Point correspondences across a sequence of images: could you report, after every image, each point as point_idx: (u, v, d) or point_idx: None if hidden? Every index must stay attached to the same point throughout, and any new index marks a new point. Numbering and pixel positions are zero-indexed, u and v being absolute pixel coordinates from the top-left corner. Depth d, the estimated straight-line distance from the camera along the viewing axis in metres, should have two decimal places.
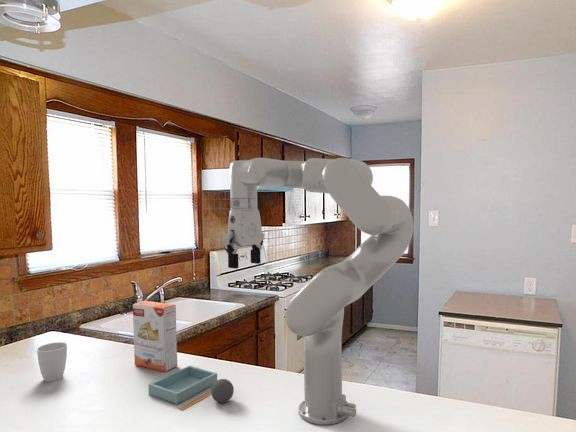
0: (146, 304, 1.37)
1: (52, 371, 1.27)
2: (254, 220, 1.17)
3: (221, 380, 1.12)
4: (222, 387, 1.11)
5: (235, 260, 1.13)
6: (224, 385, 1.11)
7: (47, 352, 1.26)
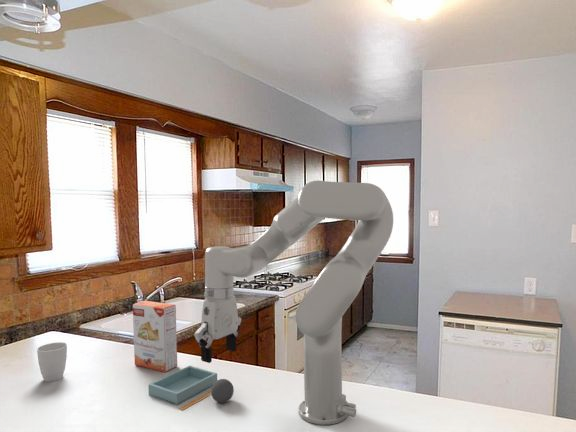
0: (146, 304, 1.37)
1: (52, 371, 1.27)
2: (229, 309, 1.11)
3: (221, 380, 1.12)
4: (222, 387, 1.11)
5: (208, 354, 1.08)
6: (224, 385, 1.11)
7: (47, 352, 1.26)
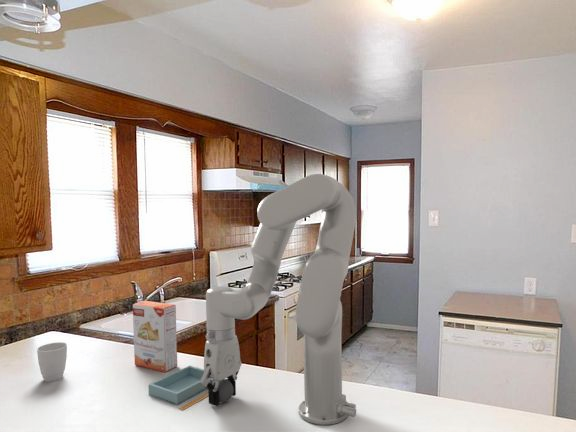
0: (146, 304, 1.37)
1: (52, 371, 1.27)
2: (232, 350, 1.12)
3: (221, 380, 1.12)
4: (222, 387, 1.11)
5: (215, 397, 1.09)
6: (224, 385, 1.11)
7: (47, 352, 1.26)
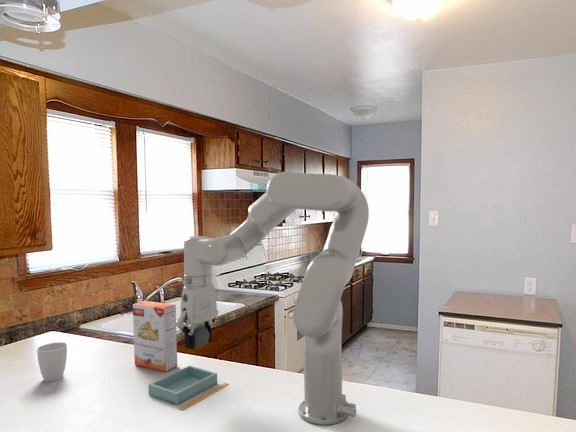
0: (146, 304, 1.37)
1: (52, 371, 1.27)
2: (208, 296, 1.16)
3: (197, 326, 1.16)
4: (198, 331, 1.15)
5: (191, 341, 1.13)
6: (200, 330, 1.15)
7: (47, 352, 1.26)
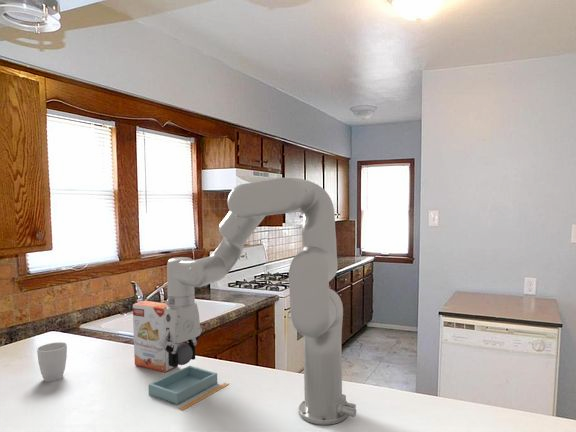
0: (146, 304, 1.37)
1: (52, 371, 1.27)
2: (191, 316, 1.20)
3: (181, 344, 1.21)
4: (181, 350, 1.19)
5: (174, 359, 1.17)
6: (183, 348, 1.19)
7: (47, 352, 1.26)
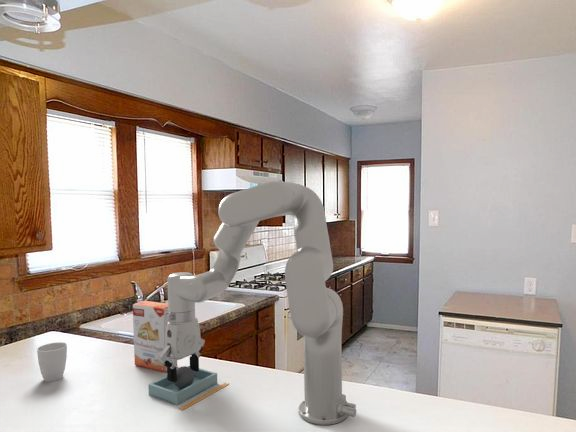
0: (146, 304, 1.37)
1: (52, 371, 1.27)
2: (192, 331, 1.20)
3: (182, 367, 1.21)
4: (183, 373, 1.19)
5: (173, 374, 1.17)
6: (185, 372, 1.19)
7: (47, 352, 1.26)
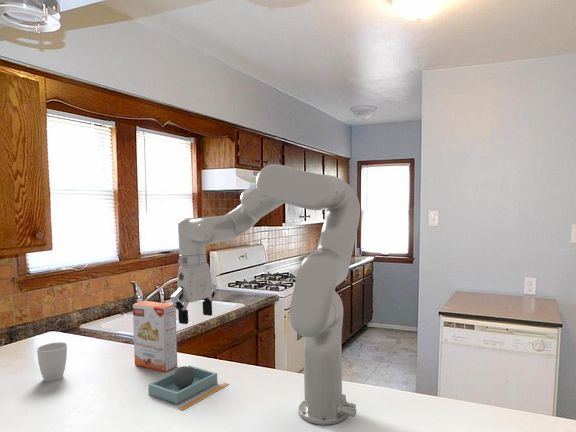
0: (146, 304, 1.37)
1: (52, 371, 1.27)
2: (203, 275, 1.21)
3: (182, 367, 1.21)
4: (183, 373, 1.19)
5: (185, 316, 1.16)
6: (185, 371, 1.19)
7: (47, 352, 1.26)
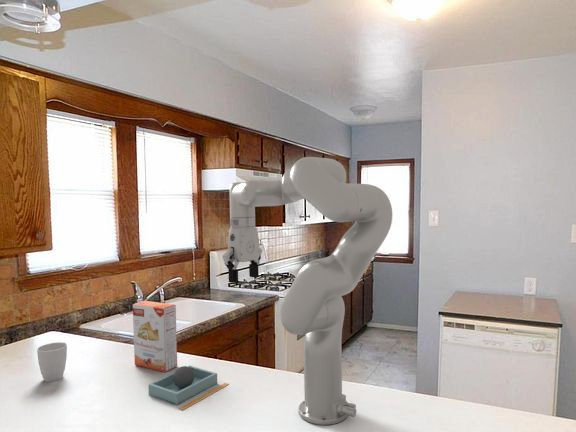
0: (146, 304, 1.37)
1: (52, 371, 1.27)
2: (252, 237, 1.26)
3: (182, 367, 1.21)
4: (183, 373, 1.19)
5: (235, 275, 1.22)
6: (185, 371, 1.19)
7: (47, 352, 1.26)
